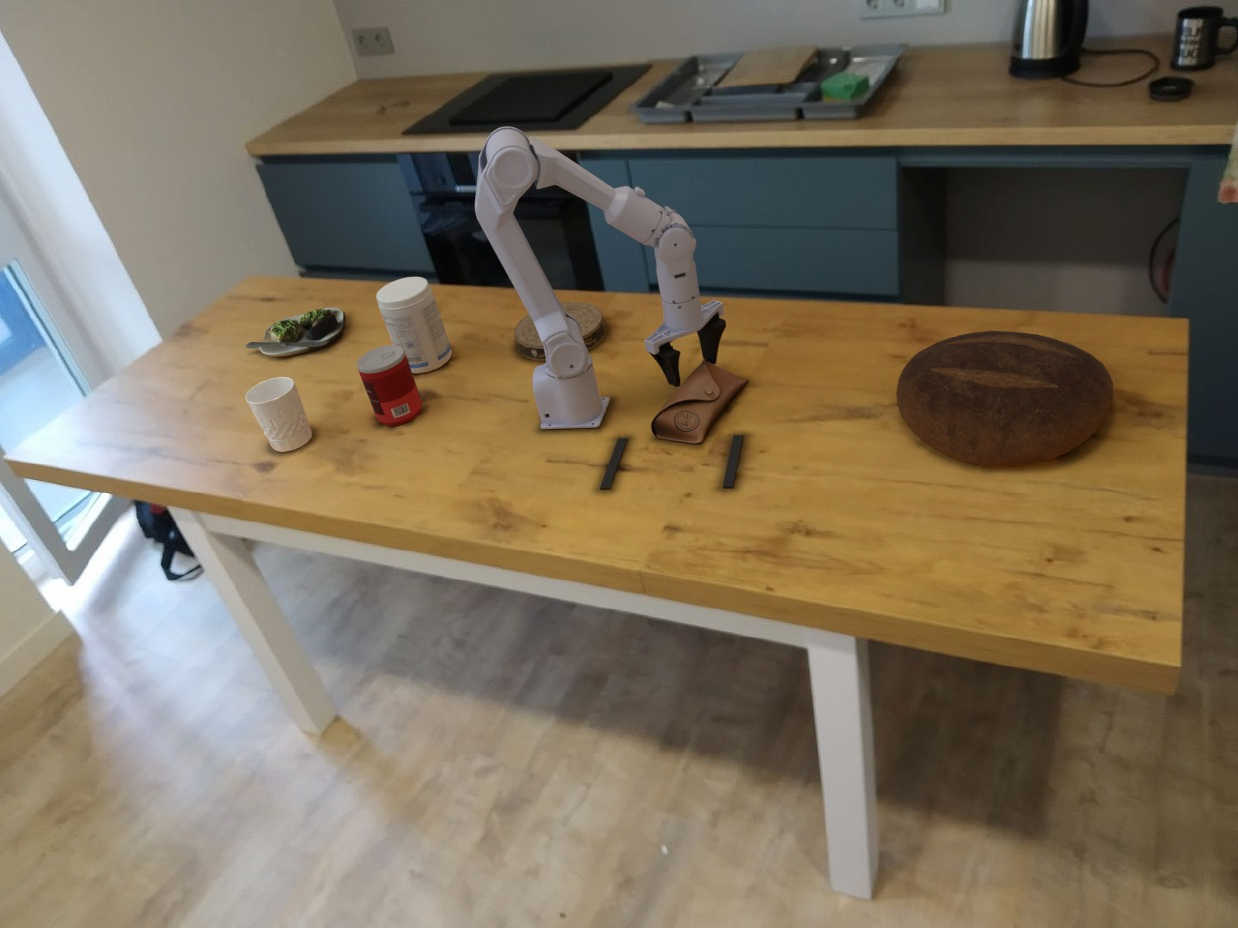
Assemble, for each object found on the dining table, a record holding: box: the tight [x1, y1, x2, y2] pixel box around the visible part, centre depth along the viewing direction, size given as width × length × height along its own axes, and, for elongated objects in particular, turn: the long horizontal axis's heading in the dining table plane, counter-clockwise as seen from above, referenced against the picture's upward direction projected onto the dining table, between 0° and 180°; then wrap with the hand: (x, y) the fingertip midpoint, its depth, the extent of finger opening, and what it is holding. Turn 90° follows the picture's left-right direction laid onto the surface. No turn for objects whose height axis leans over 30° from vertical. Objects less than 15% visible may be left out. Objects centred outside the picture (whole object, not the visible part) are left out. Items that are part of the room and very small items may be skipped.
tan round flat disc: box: [513, 301, 606, 362], centre depth 175 cm, size 16×16×3 cm
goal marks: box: [599, 434, 744, 490], centre depth 139 cm, size 19×12×1 cm, turn 78°
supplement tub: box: [375, 276, 453, 374], centre depth 174 cm, size 10×10×15 cm
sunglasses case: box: [650, 358, 750, 445], centre depth 148 cm, size 18×7×7 cm
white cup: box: [244, 376, 313, 453], centre depth 161 cm, size 8×8×10 cm
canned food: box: [356, 344, 423, 427], centre depth 161 cm, size 8×8×11 cm
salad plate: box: [245, 306, 346, 357], centre depth 194 cm, size 19×18×5 cm
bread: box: [896, 330, 1114, 467], centre depth 133 cm, size 28×27×9 cm
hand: (692, 373), depth 153 cm, fingers open, 7 cm apart
